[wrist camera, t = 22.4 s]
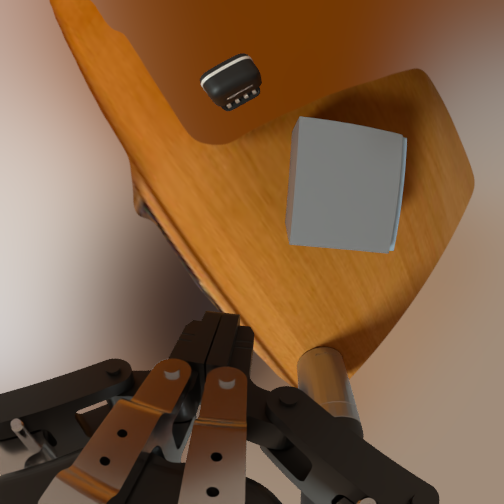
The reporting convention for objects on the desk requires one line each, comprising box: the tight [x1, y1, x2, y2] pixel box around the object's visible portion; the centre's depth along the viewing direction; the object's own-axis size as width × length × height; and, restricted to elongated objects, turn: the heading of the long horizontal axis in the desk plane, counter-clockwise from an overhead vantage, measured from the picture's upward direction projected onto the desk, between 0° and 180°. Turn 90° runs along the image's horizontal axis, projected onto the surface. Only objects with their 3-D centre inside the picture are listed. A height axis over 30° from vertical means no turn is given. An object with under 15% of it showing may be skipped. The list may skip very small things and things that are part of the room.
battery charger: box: [200, 54, 262, 111], centre depth 31 cm, size 7×4×11 cm, turn 120°
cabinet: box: [285, 117, 403, 253], centre depth 33 cm, size 14×12×12 cm
